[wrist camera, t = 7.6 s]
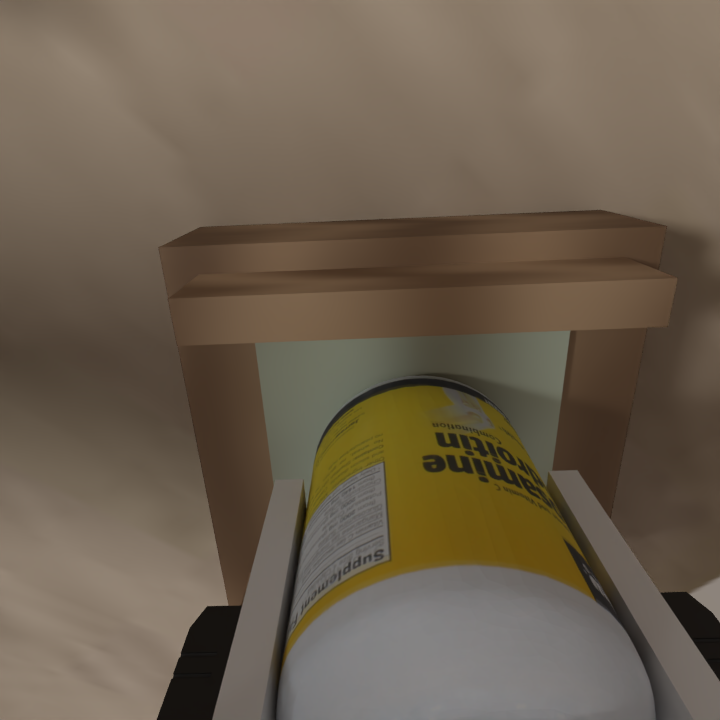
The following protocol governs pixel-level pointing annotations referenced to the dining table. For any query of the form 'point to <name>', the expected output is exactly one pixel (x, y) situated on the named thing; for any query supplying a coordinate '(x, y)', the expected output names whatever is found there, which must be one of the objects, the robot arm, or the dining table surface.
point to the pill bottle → (445, 576)
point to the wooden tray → (407, 339)
